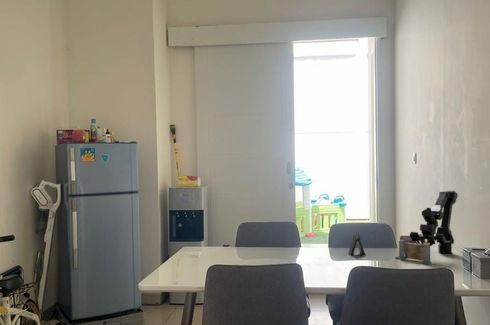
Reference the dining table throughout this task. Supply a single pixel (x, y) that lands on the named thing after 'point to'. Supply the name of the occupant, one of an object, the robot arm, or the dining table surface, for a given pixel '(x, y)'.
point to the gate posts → (402, 252)
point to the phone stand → (355, 245)
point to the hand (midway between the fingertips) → (423, 249)
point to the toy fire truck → (408, 240)
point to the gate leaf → (415, 251)
